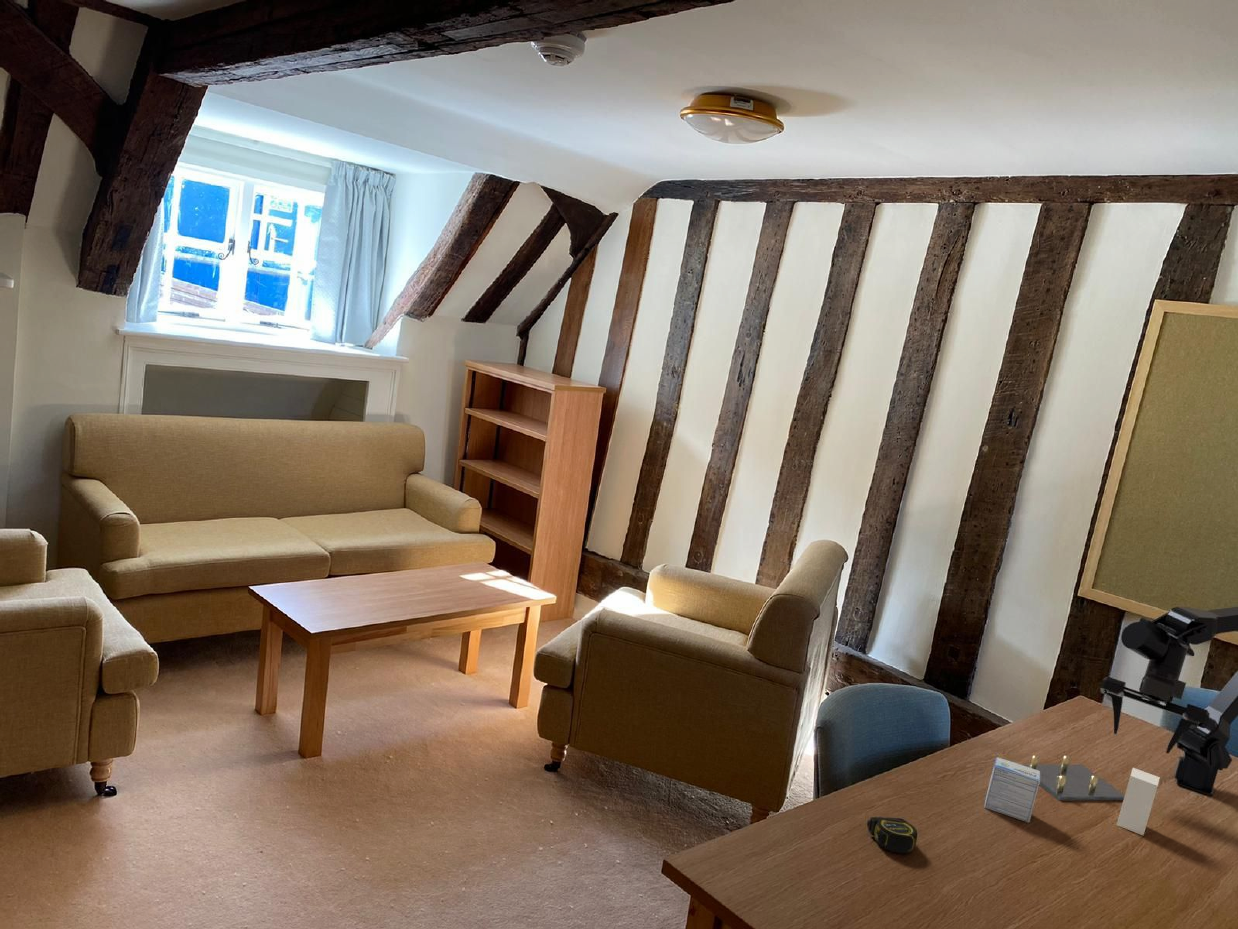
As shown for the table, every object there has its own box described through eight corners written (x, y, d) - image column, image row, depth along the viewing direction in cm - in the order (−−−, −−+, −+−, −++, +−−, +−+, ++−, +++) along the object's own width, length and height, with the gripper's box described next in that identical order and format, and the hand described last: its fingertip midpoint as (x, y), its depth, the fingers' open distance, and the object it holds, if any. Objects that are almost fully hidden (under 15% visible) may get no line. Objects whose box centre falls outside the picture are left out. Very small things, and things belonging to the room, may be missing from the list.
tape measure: (902, 834, 162) (906, 814, 161) (921, 859, 156) (926, 838, 155) (864, 833, 161) (869, 812, 160) (882, 857, 154) (887, 836, 153)
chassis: (1081, 768, 200) (1085, 751, 199) (1125, 800, 188) (1130, 782, 188) (1017, 768, 195) (1022, 751, 194) (1059, 800, 183) (1064, 782, 183)
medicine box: (1030, 813, 177) (1041, 770, 175) (1029, 824, 172) (1040, 780, 171) (985, 798, 180) (996, 756, 178) (983, 808, 176) (994, 765, 174)
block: (1119, 816, 181) (1132, 767, 179) (1145, 826, 179) (1159, 777, 177) (1116, 825, 178) (1130, 775, 176) (1143, 835, 175) (1157, 785, 173)
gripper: (1112, 643, 189) (1088, 718, 186) (1221, 678, 178) (1197, 758, 176) (1113, 655, 198) (1089, 727, 195) (1216, 688, 188) (1193, 765, 185)
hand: (1140, 743), depth 187 cm, fingers open, 9 cm apart
